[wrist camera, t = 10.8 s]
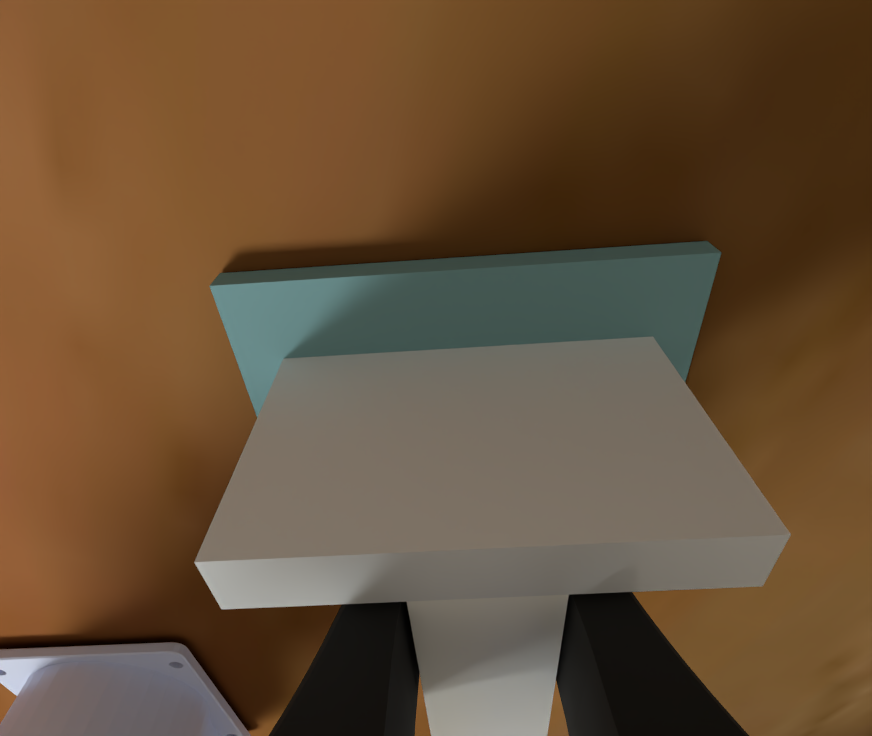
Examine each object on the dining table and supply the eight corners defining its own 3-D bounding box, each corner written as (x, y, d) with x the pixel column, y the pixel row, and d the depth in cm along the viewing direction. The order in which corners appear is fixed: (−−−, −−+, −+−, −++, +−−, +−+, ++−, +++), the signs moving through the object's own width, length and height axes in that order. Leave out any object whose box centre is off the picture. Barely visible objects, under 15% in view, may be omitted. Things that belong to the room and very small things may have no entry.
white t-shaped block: (608, 543, 15) (676, 744, 11) (341, 555, 15) (307, 757, 11) (652, 336, 11) (790, 534, 7) (283, 358, 11) (194, 561, 7)
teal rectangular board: (624, 562, 16) (630, 578, 16) (323, 575, 17) (320, 592, 16) (707, 241, 10) (721, 252, 10) (220, 273, 10) (209, 285, 10)
